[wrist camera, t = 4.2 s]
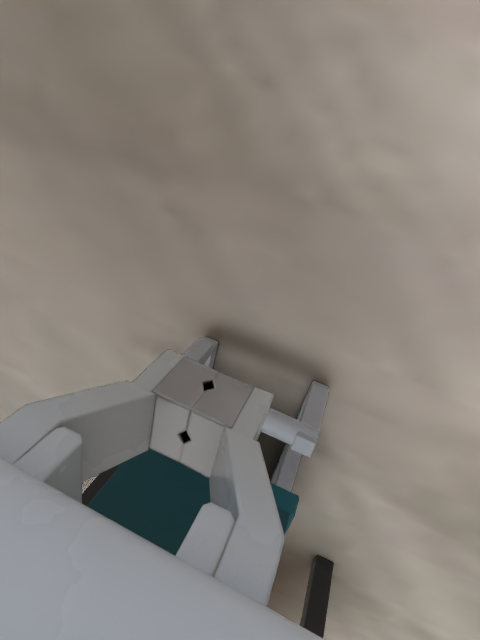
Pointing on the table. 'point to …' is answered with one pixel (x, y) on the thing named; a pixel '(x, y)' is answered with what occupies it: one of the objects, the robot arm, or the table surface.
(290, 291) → the table surface
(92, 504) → the chair
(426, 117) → the table surface
